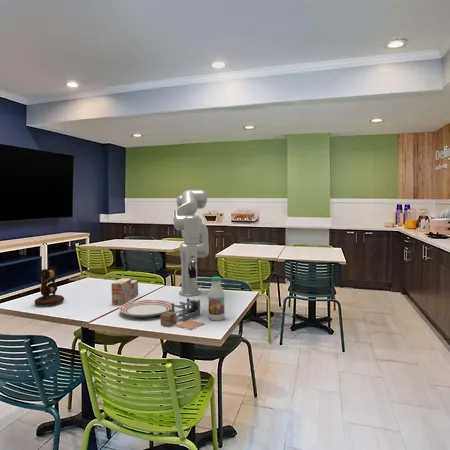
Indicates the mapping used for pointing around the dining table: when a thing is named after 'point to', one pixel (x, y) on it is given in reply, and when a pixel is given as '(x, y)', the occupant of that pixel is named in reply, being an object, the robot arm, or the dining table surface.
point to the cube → (168, 319)
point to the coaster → (189, 324)
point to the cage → (191, 315)
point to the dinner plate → (146, 308)
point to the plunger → (188, 310)
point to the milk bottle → (216, 300)
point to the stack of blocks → (124, 291)
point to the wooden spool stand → (48, 288)
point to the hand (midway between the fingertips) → (192, 276)
